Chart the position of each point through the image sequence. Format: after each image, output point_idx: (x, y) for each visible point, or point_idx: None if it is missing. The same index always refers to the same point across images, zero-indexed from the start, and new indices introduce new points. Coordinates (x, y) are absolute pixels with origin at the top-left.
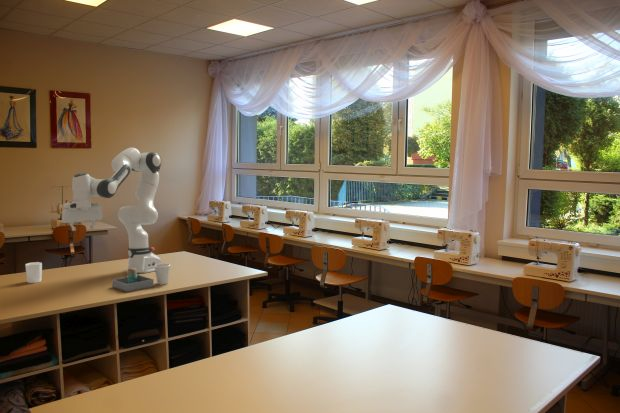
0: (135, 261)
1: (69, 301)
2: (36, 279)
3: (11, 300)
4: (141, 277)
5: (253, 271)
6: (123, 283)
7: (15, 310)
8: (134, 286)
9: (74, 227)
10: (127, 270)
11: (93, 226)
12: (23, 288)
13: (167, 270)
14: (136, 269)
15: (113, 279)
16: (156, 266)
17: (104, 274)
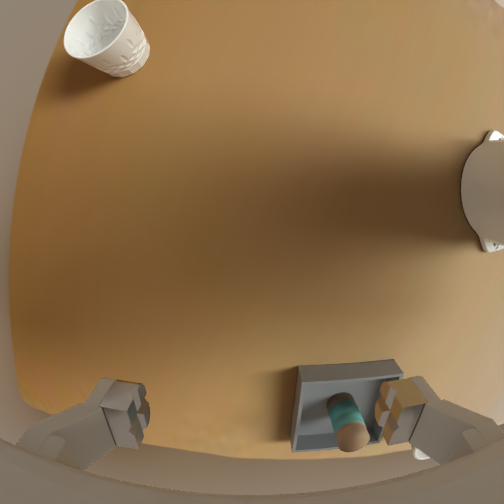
0: (499, 220)
1: None
2: (117, 74)
3: (18, 282)
4: None
5: None
6: (294, 440)
7: (29, 375)
8: (317, 442)
9: (117, 445)
10: (465, 175)
11: (413, 432)
12: (63, 144)
13: None
14: (364, 443)
15: (306, 382)
16: (414, 451)
17: (389, 136)
